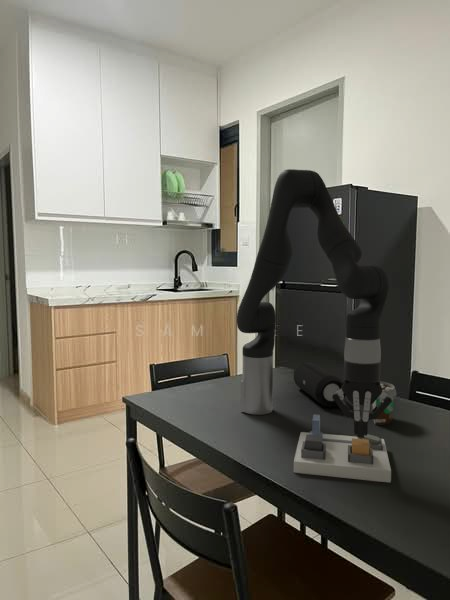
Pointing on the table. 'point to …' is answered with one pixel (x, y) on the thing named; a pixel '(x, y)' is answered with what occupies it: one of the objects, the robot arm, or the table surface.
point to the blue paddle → (316, 426)
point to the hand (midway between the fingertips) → (360, 436)
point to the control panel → (343, 459)
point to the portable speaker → (317, 383)
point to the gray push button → (313, 442)
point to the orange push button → (360, 446)
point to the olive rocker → (372, 439)
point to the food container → (387, 413)
